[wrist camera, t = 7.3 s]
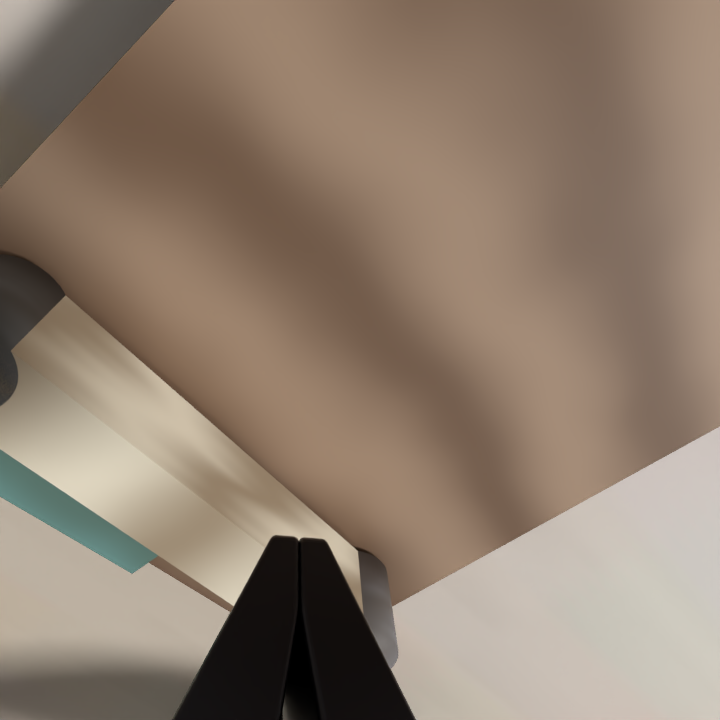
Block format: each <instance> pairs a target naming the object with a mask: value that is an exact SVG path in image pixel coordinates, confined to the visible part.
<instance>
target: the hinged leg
mask: <svg viewBox="0 0 720 720" xmlns="http://www.w3.org/2000/svg"><path fill="white" fill-rule="evenodd" d="M0 449H1V450H2V451H4V452H5V453H7V454H8V455H10V456H11V457H12V458H14V459H15V460H17V461H18V462H20V463H21V464H23V465H24V466H26V467H27V468H29V469H30V470H32V471H33V472H35V473H36V474H38V475H39V476H41V477H42V478H44V479H45V480H47V481H48V482H50V483H51V484H53V485H54V486H56V487H57V488H59V489H60V490H62V491H63V492H65V493H66V494H68V495H69V496H71V497H72V498H74V499H75V500H76V501H78V502H79V503H81V504H82V505H84V506H85V507H87V508H88V509H90V510H91V511H93V512H94V513H96V514H97V515H99V516H100V517H102V518H103V519H105V520H106V521H108V522H109V523H111V524H112V525H114V526H115V527H117V528H118V529H120V530H121V531H123V532H124V533H126V534H127V535H129V536H130V537H132V538H133V539H135V540H136V541H138V542H139V543H140V544H142V545H143V546H145V547H146V548H148V549H149V550H151V551H152V552H154V553H155V554H157V555H158V556H160V557H161V558H163V559H164V560H166V561H167V562H169V563H170V564H172V565H173V566H175V567H176V568H178V569H179V570H181V571H182V572H184V573H185V574H187V575H188V576H190V577H191V578H193V579H194V580H196V581H197V582H199V583H200V584H202V585H203V586H204V587H206V588H207V589H209V590H210V591H212V592H213V593H215V594H216V595H218V596H219V597H221V598H222V599H224V600H225V601H227V602H228V603H230V604H231V605H233V606H234V605H235V603H236V601H237V599H238V597H239V595H240V594H241V592H242V590H243V588H244V586H245V584H246V582H247V581H248V579H249V577H250V575H251V573H252V571H253V570H254V568H255V566H256V564H257V562H258V560H259V558H260V557H261V555H262V553H263V551H264V549H265V547H266V545H267V544H268V542H269V540H270V538H271V537H272V536H274V535H282V536H294V537H296V538H298V541H299V540H300V539H301V538H303V537H307V538H320V539H324V540H326V541H327V543H328V544H329V546H330V548H331V550H332V552H333V554H334V556H335V558H336V560H337V562H338V564H339V566H340V568H341V570H342V572H343V574H344V576H345V578H346V580H347V582H348V584H349V586H350V588H351V591H352V593H353V595H354V597H355V599H356V601H357V603H358V605H359V607H360V609H361V611H362V613H363V615H364V617H365V619H366V621H367V623H368V625H369V627H370V629H371V631H372V633H373V635H374V637H375V639H376V641H377V643H378V645H379V647H380V649H381V651H382V653H383V655H384V657H385V659H386V661H387V663H388V665H389V667H390V669H391V668H392V667H393V666H394V664H395V663H396V661H397V658H398V647H397V640H396V633H395V625H394V618H393V611H392V604H391V597H390V590H389V583H388V576H387V570H386V567H385V565H384V564H383V563H382V562H381V561H380V560H379V559H378V558H377V557H375V556H373V555H371V554H369V553H365V552H361V551H357V550H356V549H355V548H354V547H353V546H352V545H350V544H349V543H348V542H347V541H346V540H345V539H344V538H342V537H341V536H340V535H339V534H338V533H337V532H336V531H334V530H333V529H332V528H331V527H330V526H329V525H328V524H326V523H325V522H324V521H323V520H322V519H321V518H320V517H318V516H317V515H316V514H315V513H314V512H313V511H312V510H310V509H309V508H308V507H307V506H306V505H305V504H304V503H302V502H301V501H300V500H299V499H298V498H297V497H296V496H294V495H293V494H292V493H291V492H290V491H289V490H288V489H286V488H285V487H284V486H283V485H282V484H281V483H280V482H278V481H277V480H276V479H275V478H274V477H273V476H272V475H270V474H269V473H268V472H267V471H266V470H265V469H264V468H262V467H261V466H260V465H259V464H258V463H257V462H256V461H254V460H253V459H252V458H251V457H250V456H249V455H248V454H246V453H245V452H244V451H243V450H242V449H241V448H240V447H238V446H237V445H236V444H235V443H234V442H233V441H232V440H230V439H229V438H228V437H227V436H226V435H225V434H224V433H222V432H221V431H220V430H219V429H218V428H217V427H216V426H214V425H213V424H212V423H211V422H210V421H209V420H208V419H206V418H205V417H204V416H203V415H202V414H201V413H200V412H198V411H197V410H196V409H195V408H194V407H193V406H192V405H190V404H189V403H188V402H187V401H186V400H185V399H184V398H182V397H181V396H180V395H179V394H178V393H177V392H176V391H174V390H173V389H172V388H171V387H170V386H169V385H168V384H166V383H165V382H164V381H163V380H162V379H161V378H160V377H158V376H157V375H156V374H155V373H154V372H153V371H152V370H150V369H149V368H148V367H147V366H146V365H145V364H144V363H142V362H141V361H140V360H139V359H138V358H137V357H136V356H134V355H133V354H132V353H131V352H130V351H129V350H128V349H126V348H125V347H124V346H123V345H122V344H121V343H120V342H118V341H117V340H116V339H115V338H114V337H113V336H112V335H110V334H109V333H108V332H107V331H106V330H105V329H104V328H102V327H101V326H100V325H99V324H98V323H97V322H96V321H94V320H93V319H92V318H91V317H90V316H89V315H88V314H86V313H85V312H84V311H83V310H82V309H81V308H80V307H78V306H77V305H76V304H75V303H74V302H73V301H72V300H70V299H69V298H68V297H67V296H66V295H65V293H64V291H63V290H62V288H61V287H60V285H59V284H58V283H57V282H56V280H55V279H54V278H53V277H52V276H51V275H49V274H48V273H47V272H46V271H44V270H43V269H42V268H40V267H38V266H37V265H35V264H33V263H31V262H29V261H27V260H24V259H22V258H18V257H15V256H10V255H1V254H0Z"/></svg>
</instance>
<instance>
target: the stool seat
mask: <svg viewBox="0 0 720 720" xmlns="http://www.w3.org/2000/svg"><path fill="white" fill-rule="evenodd" d="M0 254H1V255H10V256H15V257H18V258H22V259H24V260H27V261H29V262H31V263H33V264H35V265H37V266H38V267H40V268H42V269H43V270H44V271H46V272H47V273H48V274H49V275H51V276H52V277H53V278H54V279H55V280H56V282H57V283H58V284H59V285H60V287H61V288H62V290H63V291H64V293H65V295H66V296H67V297H68V298H69V299H70V300H72V301H73V302H74V303H75V304H76V305H77V306H78V307H80V308H81V309H82V310H83V311H84V312H85V313H86V314H88V315H89V316H90V317H91V318H92V319H93V320H94V321H96V322H97V323H98V324H99V325H100V326H101V327H102V328H104V329H105V330H106V331H107V332H108V333H109V334H110V335H112V336H113V337H114V338H115V339H116V340H117V341H118V342H120V343H121V344H122V345H123V346H124V347H125V348H126V349H128V350H129V351H130V352H131V353H132V354H133V355H134V356H136V357H137V358H138V359H139V360H140V361H141V362H142V363H144V364H145V365H146V366H147V367H148V368H149V369H150V370H152V371H153V372H154V373H155V374H156V375H157V376H158V377H160V378H161V379H162V380H163V381H164V382H165V383H166V384H168V385H169V386H170V387H171V388H172V389H173V390H174V391H176V392H177V393H178V394H179V395H180V396H181V397H182V398H184V399H185V400H186V401H187V402H188V403H189V404H190V405H192V406H193V407H194V408H195V409H196V410H197V411H198V412H200V413H201V414H202V415H203V416H204V417H205V418H206V419H208V420H209V421H210V422H211V423H212V424H213V425H214V426H216V427H217V428H218V429H219V430H220V431H221V432H222V433H224V434H225V435H226V436H227V437H228V438H229V439H230V440H232V441H233V442H234V443H235V444H236V445H237V446H238V447H240V448H241V449H242V450H243V451H244V452H245V453H246V454H248V455H249V456H250V457H251V458H252V459H253V460H254V461H256V462H257V463H258V464H259V465H260V466H261V467H262V468H264V469H265V470H266V471H267V472H268V473H269V474H270V475H272V476H273V477H274V478H275V479H276V480H277V481H278V482H280V483H281V484H282V485H283V486H284V487H285V488H286V489H288V490H289V491H290V492H291V493H292V494H293V495H294V496H296V497H297V498H298V499H299V500H300V501H301V502H302V503H304V504H305V505H306V506H307V507H308V508H309V509H310V510H312V511H313V512H314V513H315V514H316V515H317V516H318V517H320V518H321V519H322V520H323V521H324V522H325V523H326V524H328V525H329V526H330V527H331V528H332V529H333V530H334V531H336V532H337V533H338V534H339V535H340V536H341V537H342V538H344V539H345V540H346V541H347V542H348V543H349V544H350V545H352V546H353V547H354V548H355V549H356V550H357V551H361V552H365V553H369V554H371V555H373V556H375V557H377V558H378V559H379V560H380V561H381V562H382V563H383V564H384V565H385V567H386V570H387V576H388V583H389V590H390V597H391V604H392V606H394V605H396V604H397V603H399V602H401V601H403V600H405V599H407V598H408V597H410V596H412V595H414V594H416V593H417V592H419V591H421V590H423V589H425V588H427V587H428V586H430V585H432V584H434V583H436V582H437V581H439V580H441V579H443V578H445V577H447V576H448V575H450V574H452V573H454V572H456V571H457V570H459V569H461V568H463V567H465V566H467V565H468V564H470V563H472V562H474V561H476V560H477V559H479V558H481V557H483V556H485V555H487V554H488V553H490V552H492V551H494V550H496V549H497V548H499V547H501V546H503V545H505V544H507V543H508V542H510V541H512V540H514V539H516V538H517V537H519V536H521V535H523V534H525V533H527V532H528V531H530V530H532V529H534V528H536V527H537V526H539V525H541V524H543V523H545V522H547V521H548V520H550V519H552V518H554V517H556V516H557V515H559V514H561V513H563V512H565V511H567V510H568V509H570V508H572V507H574V506H576V505H577V504H579V503H581V502H583V501H585V500H587V499H588V498H590V497H592V496H594V495H596V494H597V493H599V492H601V491H603V490H605V489H607V488H608V487H610V486H612V485H614V484H616V483H617V482H619V481H621V480H623V479H625V478H627V477H628V476H630V475H632V474H634V473H636V472H638V471H639V470H641V469H643V468H645V467H647V466H648V465H650V464H652V463H654V462H656V461H658V460H659V459H661V458H663V457H665V456H667V455H668V454H670V453H672V452H674V451H676V450H678V449H679V448H681V447H683V446H685V445H687V444H688V443H690V442H692V441H694V440H696V439H698V438H699V437H701V436H703V435H705V434H707V433H708V432H710V431H712V430H714V429H716V428H718V427H719V426H720V0H175V1H174V2H173V3H172V4H171V5H170V6H169V7H168V8H167V9H166V10H165V11H164V12H163V14H162V15H161V16H160V17H159V18H158V19H157V20H156V21H155V22H154V23H153V24H152V25H151V26H150V28H149V29H148V30H147V31H146V32H145V33H144V34H143V35H142V36H141V37H140V38H139V39H138V41H137V42H136V43H135V44H134V45H133V46H132V47H131V48H130V49H129V50H128V51H127V52H126V53H125V55H124V56H123V57H122V58H121V59H120V60H119V61H118V62H117V63H116V64H115V65H114V66H113V67H112V69H111V70H110V71H109V72H108V73H107V74H106V75H105V76H104V77H103V78H102V79H101V80H100V82H99V83H98V84H97V85H96V86H95V87H94V88H93V89H92V90H91V91H90V92H89V93H88V94H87V96H86V97H85V98H84V99H83V100H82V101H81V102H80V103H79V104H78V105H77V106H76V107H75V108H74V110H73V111H72V112H71V113H70V114H69V115H68V116H67V117H66V118H65V119H64V120H63V121H62V122H61V124H60V125H59V126H58V127H57V128H56V129H55V130H54V131H53V132H52V133H51V134H50V135H49V137H48V138H47V139H46V140H45V141H44V142H43V143H42V144H41V145H40V146H39V147H38V148H37V149H36V151H35V152H34V153H33V154H32V155H31V156H30V157H29V158H28V159H27V160H26V161H25V162H24V163H23V165H22V166H21V167H20V168H19V169H18V170H17V171H16V172H15V173H14V174H13V175H12V176H11V178H10V179H9V180H8V181H7V182H6V183H5V184H4V185H3V186H2V187H1V188H0ZM0 497H2V498H3V499H5V500H7V501H9V502H10V503H12V504H14V505H15V506H17V507H19V508H21V509H22V510H24V511H26V512H27V513H29V514H31V515H33V516H34V517H36V518H38V519H39V520H41V521H43V522H45V523H46V524H48V525H50V526H51V527H53V528H55V529H57V530H58V531H60V532H62V533H63V534H65V535H67V536H69V537H70V538H72V539H74V540H75V541H77V542H79V543H80V544H82V545H84V546H86V547H87V548H89V549H91V550H92V551H94V552H96V553H98V554H99V555H101V556H103V557H104V558H106V559H108V560H110V561H111V562H113V563H115V564H116V565H118V566H120V567H122V568H123V569H125V570H127V571H128V572H130V573H134V572H135V571H137V570H138V569H140V568H141V567H143V566H144V565H146V564H147V563H148V562H149V563H150V564H152V565H154V566H155V567H157V568H159V569H160V570H162V571H164V572H165V573H167V574H169V575H170V576H172V577H173V578H175V579H177V580H178V581H180V582H182V583H183V584H185V585H187V586H188V587H190V588H192V589H193V590H195V591H197V592H198V593H200V594H202V595H203V596H205V597H206V598H208V599H210V600H211V601H213V602H215V603H216V604H218V605H220V606H221V607H223V608H225V609H226V610H228V611H230V612H231V610H232V608H233V607H234V606H233V605H231V604H230V603H228V602H227V601H225V600H224V599H222V598H221V597H219V596H218V595H216V594H215V593H213V592H212V591H210V590H209V589H207V588H206V587H204V586H203V585H202V584H200V583H199V582H197V581H196V580H194V579H193V578H191V577H190V576H188V575H187V574H185V573H184V572H182V571H181V570H179V569H178V568H176V567H175V566H173V565H172V564H170V563H169V562H167V561H166V560H164V559H163V558H161V557H160V556H158V555H157V554H155V553H154V552H152V551H151V550H149V549H148V548H146V547H145V546H143V545H142V544H140V543H139V542H138V541H136V540H135V539H133V538H132V537H130V536H129V535H127V534H126V533H124V532H123V531H121V530H120V529H118V528H117V527H115V526H114V525H112V524H111V523H109V522H108V521H106V520H105V519H103V518H102V517H100V516H99V515H97V514H96V513H94V512H93V511H91V510H90V509H88V508H87V507H85V506H84V505H82V504H81V503H79V502H78V501H76V500H75V499H74V498H72V497H71V496H69V495H68V494H66V493H65V492H63V491H62V490H60V489H59V488H57V487H56V486H54V485H53V484H51V483H50V482H48V481H47V480H45V479H44V478H42V477H41V476H39V475H38V474H36V473H35V472H33V471H32V470H30V469H29V468H27V467H26V466H24V465H23V464H21V463H20V462H18V461H17V460H15V459H14V458H12V457H11V456H10V455H8V454H7V453H5V452H4V451H2V450H1V449H0Z"/></svg>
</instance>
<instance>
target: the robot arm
mask: <svg viewBox="0 0 720 720" xmlns="http://www.w3.org/2000/svg"><path fill="white" fill-rule="evenodd" d="M282 711H283V717H282ZM281 717H282V718H281ZM172 720H416V719H415V717H414V715H413V713H412V711H411V709H410V707H409V705H408V703H407V701H406V699H405V697H404V695H403V693H402V691H401V689H400V687H399V685H398V683H397V681H396V679H395V677H394V675H393V673H392V671H391V669H390V667H389V665H388V663H387V661H386V659H385V657H384V655H383V653H382V651H381V649H380V647H379V645H378V643H377V641H376V639H375V637H374V635H373V633H372V631H371V629H370V627H369V625H368V623H367V621H366V619H365V617H364V615H363V613H362V611H361V609H360V607H359V605H358V603H357V601H356V599H355V597H354V595H353V593H352V591H351V588H350V586H349V584H348V582H347V580H346V578H345V576H344V574H343V572H342V570H341V568H340V566H339V564H338V562H337V560H336V558H335V556H334V554H333V552H332V550H331V548H330V546H329V544H328V543H327V541H326V540H324V539H320V538H307V537H303V538H301V539H300V540H299V541H298V538H296V537H294V536H282V535H274V536H272V537H271V538H270V540H269V542H268V544H267V545H266V547H265V549H264V551H263V553H262V555H261V557H260V558H259V560H258V562H257V564H256V566H255V568H254V570H253V571H252V573H251V575H250V577H249V579H248V581H247V582H246V584H245V586H244V588H243V590H242V592H241V594H240V595H239V597H238V599H237V601H236V603H235V605H234V607H233V608H232V610H231V612H230V614H229V616H228V618H227V619H226V621H225V623H224V625H223V627H222V629H221V631H220V632H219V634H218V636H217V638H216V640H215V642H214V643H213V645H212V647H211V649H210V651H209V653H208V655H207V656H206V658H205V660H204V662H203V664H202V666H201V668H200V669H199V671H198V673H197V675H196V677H195V679H194V680H193V682H192V684H191V686H190V688H189V690H188V692H187V693H186V695H185V697H184V699H183V701H182V703H181V705H180V706H179V708H178V710H177V712H176V714H175V716H174V717H173V719H172Z"/></svg>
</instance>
